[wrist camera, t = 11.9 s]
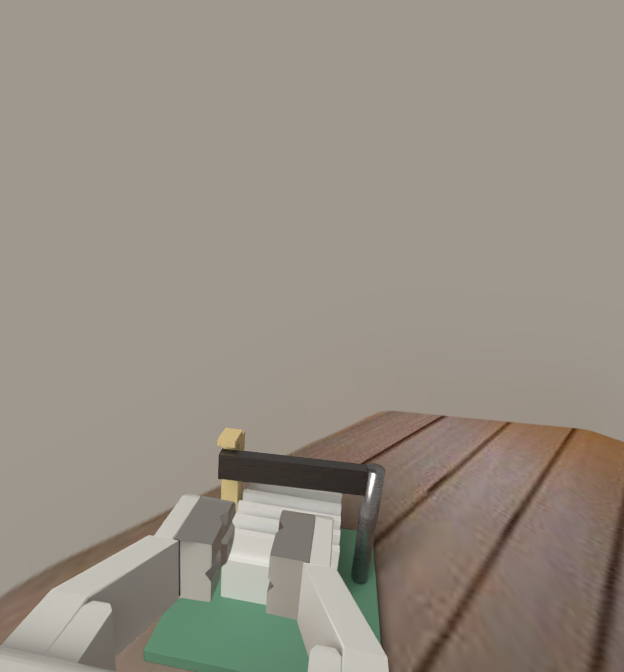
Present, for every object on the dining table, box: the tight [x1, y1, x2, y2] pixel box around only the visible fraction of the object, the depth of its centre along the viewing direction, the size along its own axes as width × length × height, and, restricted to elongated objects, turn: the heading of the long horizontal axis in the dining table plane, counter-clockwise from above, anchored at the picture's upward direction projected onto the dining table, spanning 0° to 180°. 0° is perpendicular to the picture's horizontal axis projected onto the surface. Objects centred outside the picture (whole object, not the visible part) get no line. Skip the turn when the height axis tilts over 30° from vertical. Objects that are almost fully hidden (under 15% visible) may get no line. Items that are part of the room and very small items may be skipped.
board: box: [144, 428, 381, 672], centre depth 36 cm, size 22×18×17 cm
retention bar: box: [218, 448, 385, 584], centre depth 38 cm, size 18×2×14 cm, turn 87°
